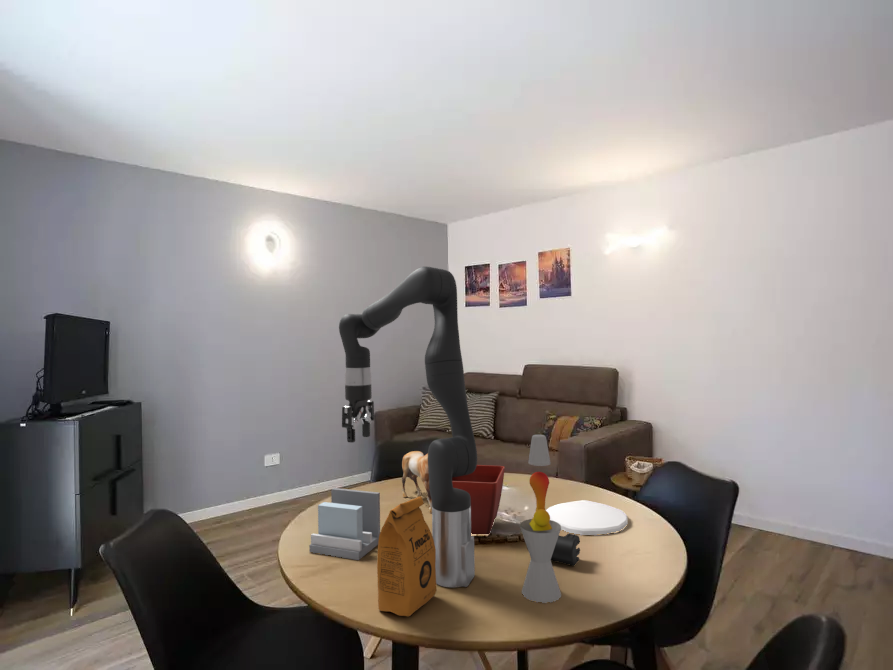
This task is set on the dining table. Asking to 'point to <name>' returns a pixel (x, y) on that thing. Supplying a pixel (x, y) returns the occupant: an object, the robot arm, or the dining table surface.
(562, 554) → the end cap
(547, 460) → the lava lamp
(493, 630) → the dining table surface
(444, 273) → the robot arm
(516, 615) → the dining table surface
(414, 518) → the coffee package
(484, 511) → the plant pot
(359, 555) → the grey slotted stand
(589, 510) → the decorative plate
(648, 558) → the dining table surface
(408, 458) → the horse figurine
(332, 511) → the door panel
